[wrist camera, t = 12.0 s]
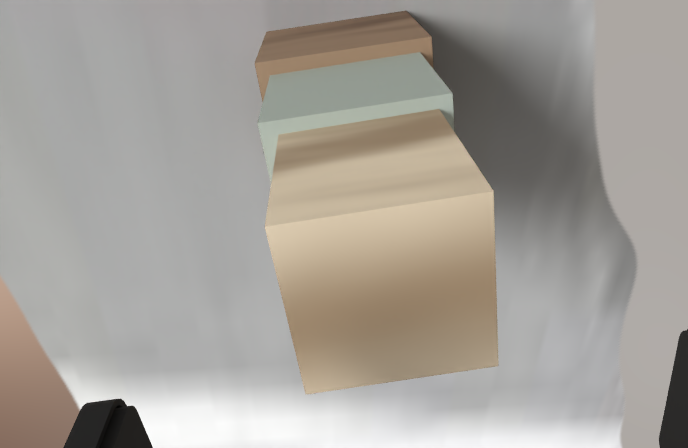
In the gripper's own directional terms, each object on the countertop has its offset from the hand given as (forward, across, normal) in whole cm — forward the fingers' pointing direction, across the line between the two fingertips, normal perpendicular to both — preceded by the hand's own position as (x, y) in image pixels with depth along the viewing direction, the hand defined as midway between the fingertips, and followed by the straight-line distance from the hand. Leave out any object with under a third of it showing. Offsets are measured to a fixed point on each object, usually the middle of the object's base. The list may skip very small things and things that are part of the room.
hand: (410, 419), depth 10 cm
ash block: (+10, 0, 0) cm, 10 cm away
